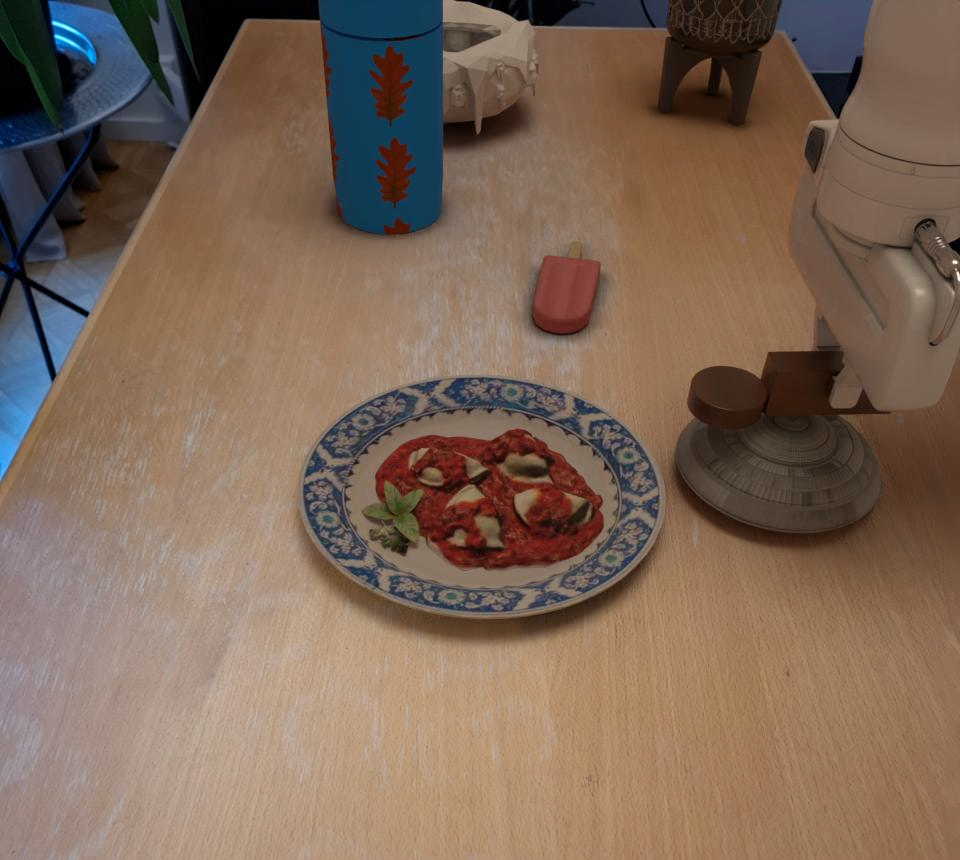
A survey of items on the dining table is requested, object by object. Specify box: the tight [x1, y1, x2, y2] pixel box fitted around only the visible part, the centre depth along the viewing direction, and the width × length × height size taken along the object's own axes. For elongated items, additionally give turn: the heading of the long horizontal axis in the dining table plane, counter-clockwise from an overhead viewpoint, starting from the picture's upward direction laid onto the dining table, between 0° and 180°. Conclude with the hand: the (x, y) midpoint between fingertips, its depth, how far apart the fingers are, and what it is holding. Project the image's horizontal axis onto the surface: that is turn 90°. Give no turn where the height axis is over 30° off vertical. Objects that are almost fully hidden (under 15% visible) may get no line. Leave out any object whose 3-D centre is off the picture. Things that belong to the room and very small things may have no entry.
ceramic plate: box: [296, 374, 667, 620], centre depth 70 cm, size 26×26×3 cm
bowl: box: [443, 0, 540, 135], centre depth 112 cm, size 21×20×10 cm
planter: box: [657, 0, 784, 126], centre depth 112 cm, size 13×13×18 cm
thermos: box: [317, 0, 444, 235], centre depth 91 cm, size 11×11×25 cm
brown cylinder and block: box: [686, 350, 892, 429], centre depth 68 cm, size 14×5×4 cm, turn 94°
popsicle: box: [531, 240, 602, 334], centre depth 90 cm, size 5×2×15 cm
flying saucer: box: [675, 413, 883, 534], centre depth 72 cm, size 15×15×6 cm
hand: (830, 385), depth 68 cm, fingers closed on brown cylinder and block, 2 cm apart
